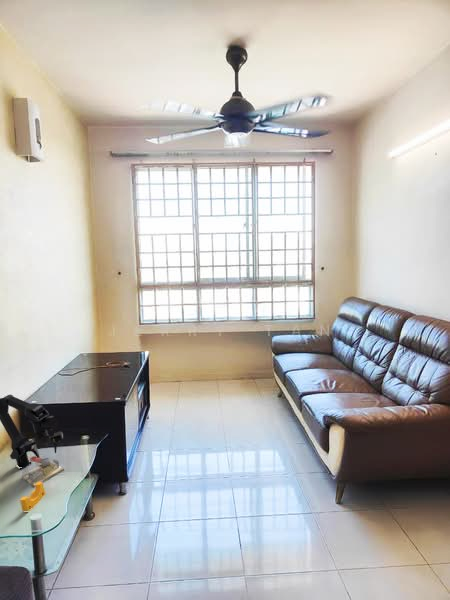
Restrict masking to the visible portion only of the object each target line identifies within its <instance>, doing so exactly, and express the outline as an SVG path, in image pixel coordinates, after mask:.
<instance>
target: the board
mask: <svg viewBox="0 0 450 600" xmlns="http://www.w3.org/2000/svg"><path fill="white" fill-rule="evenodd" d="M49 461H50V462H53V460H50V459H49ZM38 469H39V466H37V467H35V468H33V469H32V470H30V471H28V472H26V473H24V474H22V475H21V478H22V479H23V480H25V481H26V482H28V483H29V484H30V485H31V486H33V487H34V488H35V484H36V483H37V482H43V483H44V482H46V481H48V480H50V479H51V478H53V477H54V476H56V475H58V474H60V473H62V472H64V471H65V468H64V467H62V466H61V465H59V468H56V469H55V471H54V472H52V473H50V474H48V475H47V476H42V477H40V478H39V479H37V480H35V481H34V482H31V481H30V480H29V476H28V473H33V472H35V471H36V470H38Z"/></svg>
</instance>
